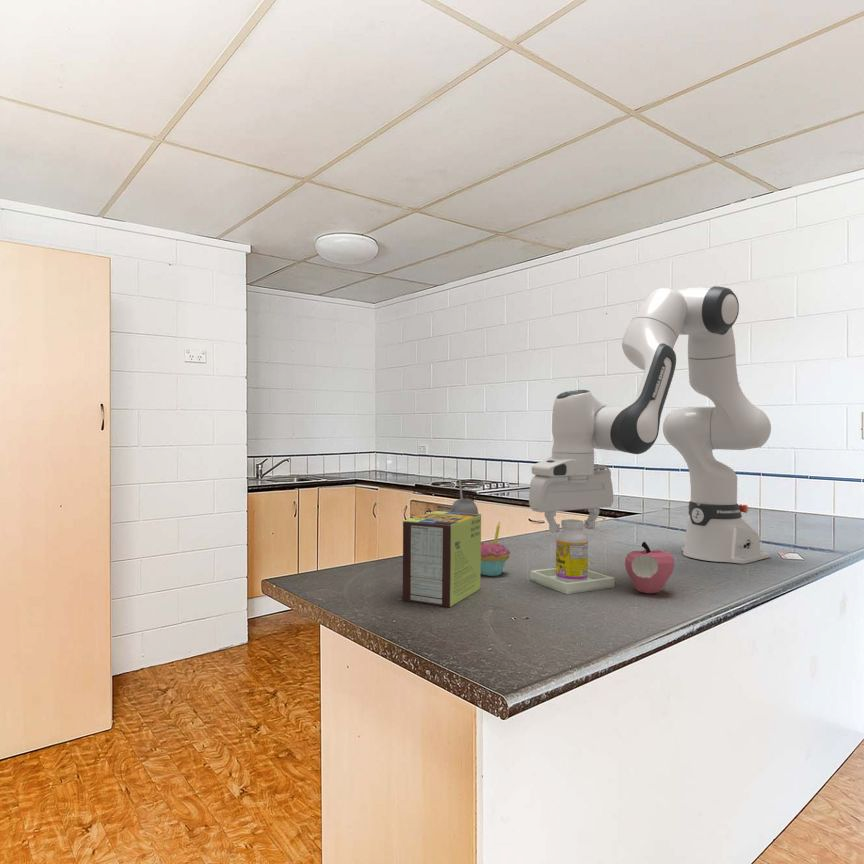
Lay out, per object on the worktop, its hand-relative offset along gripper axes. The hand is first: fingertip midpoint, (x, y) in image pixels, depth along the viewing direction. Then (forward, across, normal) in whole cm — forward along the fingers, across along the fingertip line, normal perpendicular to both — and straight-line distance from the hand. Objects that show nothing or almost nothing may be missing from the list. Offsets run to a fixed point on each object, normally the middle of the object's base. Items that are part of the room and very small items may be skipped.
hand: (572, 530), depth 136 cm
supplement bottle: (+11, 0, 0) cm, 11 cm away
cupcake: (+12, +12, -15) cm, 22 cm away
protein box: (+11, +30, -4) cm, 32 cm away
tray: (+11, 0, 0) cm, 11 cm away
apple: (+12, -10, +12) cm, 20 cm away
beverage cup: (+12, +11, -29) cm, 33 cm away
